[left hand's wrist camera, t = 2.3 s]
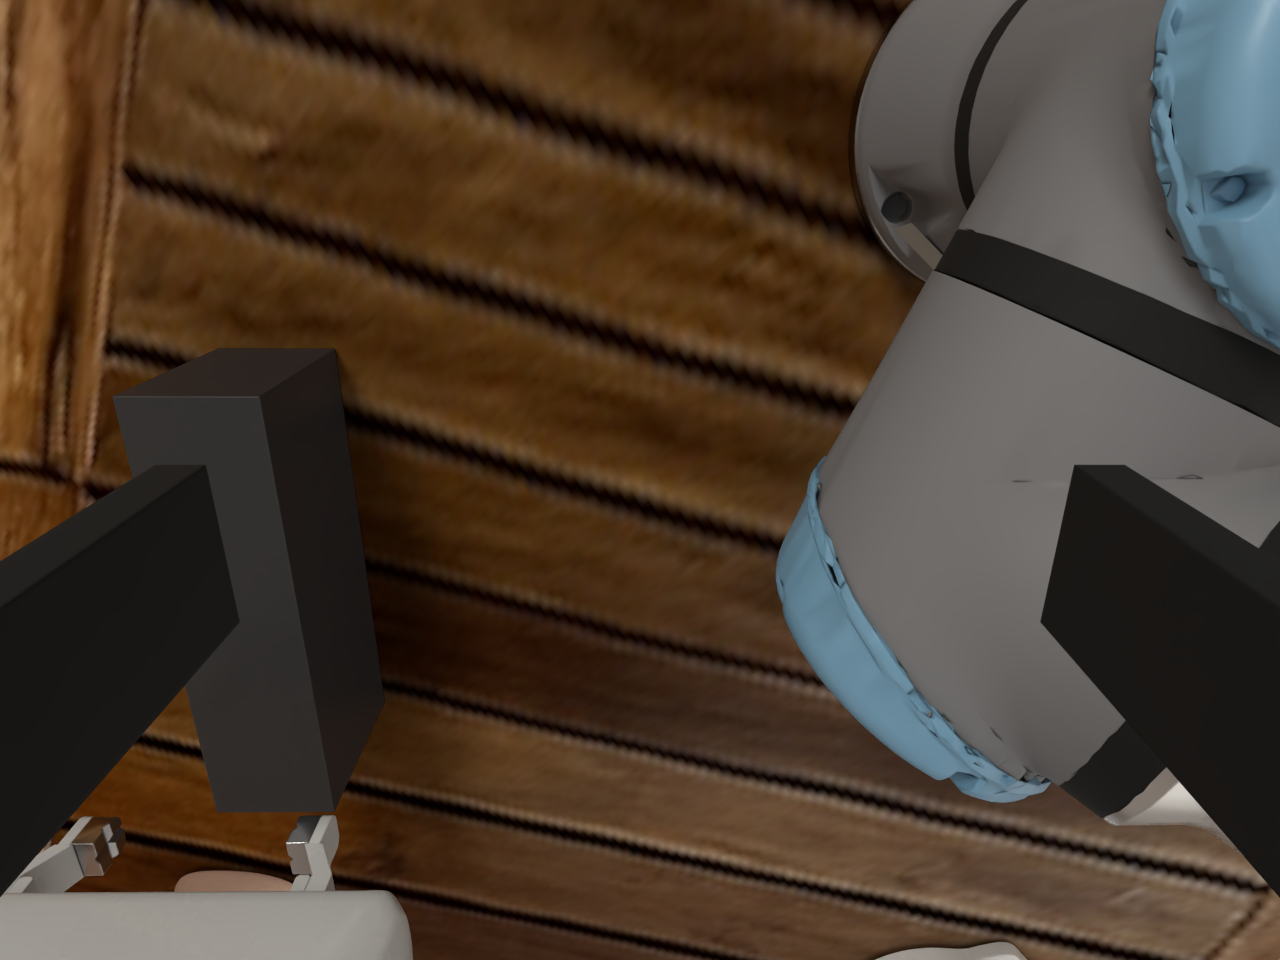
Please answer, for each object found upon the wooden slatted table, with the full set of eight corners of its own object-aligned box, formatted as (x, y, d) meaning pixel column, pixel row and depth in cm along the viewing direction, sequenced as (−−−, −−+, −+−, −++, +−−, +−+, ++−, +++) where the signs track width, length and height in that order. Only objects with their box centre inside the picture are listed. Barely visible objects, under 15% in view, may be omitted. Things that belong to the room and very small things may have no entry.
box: (217, 348, 41) (111, 396, 33) (335, 348, 41) (259, 396, 33) (287, 702, 49) (216, 812, 41) (385, 702, 49) (334, 812, 41)
